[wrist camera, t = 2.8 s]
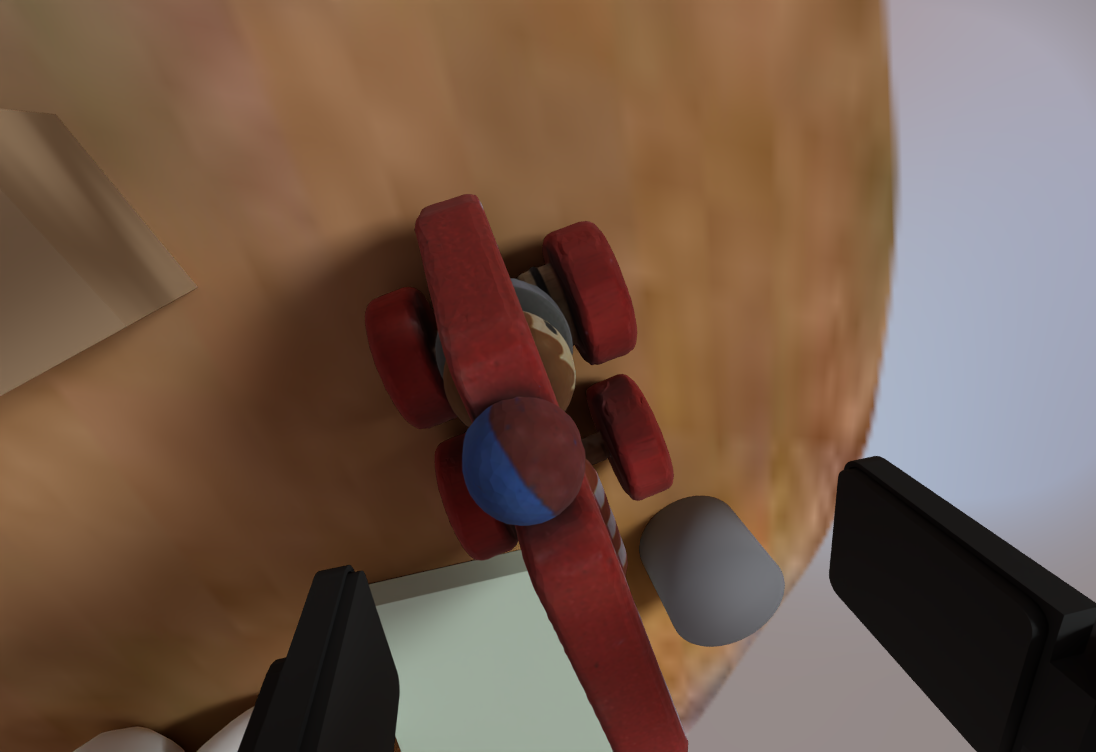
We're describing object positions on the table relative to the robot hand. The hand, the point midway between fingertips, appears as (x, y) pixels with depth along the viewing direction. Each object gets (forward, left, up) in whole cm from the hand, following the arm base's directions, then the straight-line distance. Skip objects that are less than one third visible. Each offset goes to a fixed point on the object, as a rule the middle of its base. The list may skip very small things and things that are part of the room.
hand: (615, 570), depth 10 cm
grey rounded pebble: (+8, +5, -9) cm, 14 cm away
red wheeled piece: (-1, -1, -9) cm, 9 cm away
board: (+13, -4, -9) cm, 17 cm away
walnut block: (-7, -13, -9) cm, 17 cm away
